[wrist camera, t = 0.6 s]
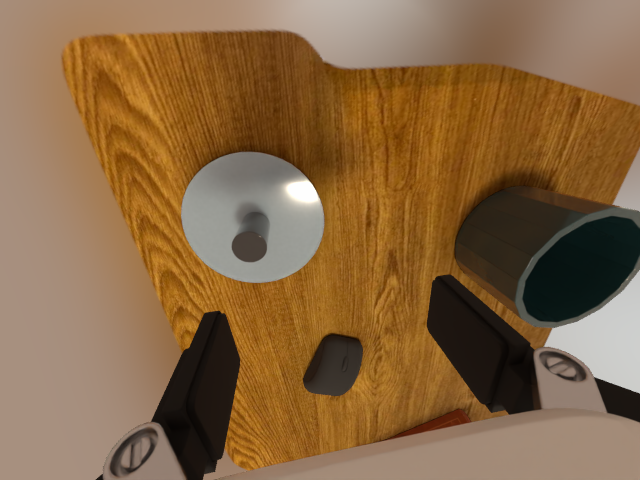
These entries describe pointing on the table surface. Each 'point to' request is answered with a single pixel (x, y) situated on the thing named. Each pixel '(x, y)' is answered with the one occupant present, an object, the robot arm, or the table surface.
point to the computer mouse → (334, 366)
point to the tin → (549, 253)
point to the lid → (252, 217)
